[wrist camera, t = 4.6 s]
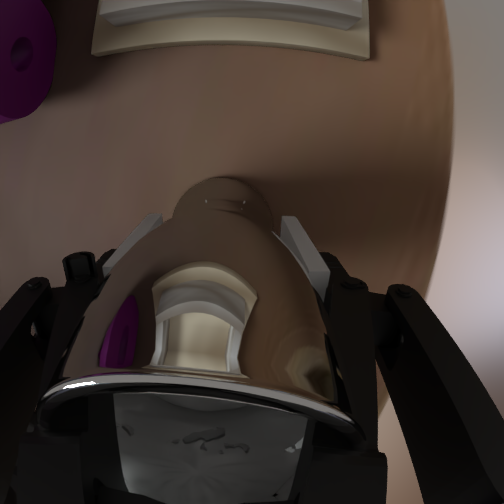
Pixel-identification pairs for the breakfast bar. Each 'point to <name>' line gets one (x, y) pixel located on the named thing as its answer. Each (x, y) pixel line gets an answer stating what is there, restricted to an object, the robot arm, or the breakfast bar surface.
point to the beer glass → (209, 355)
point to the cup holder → (234, 25)
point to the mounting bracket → (25, 57)
